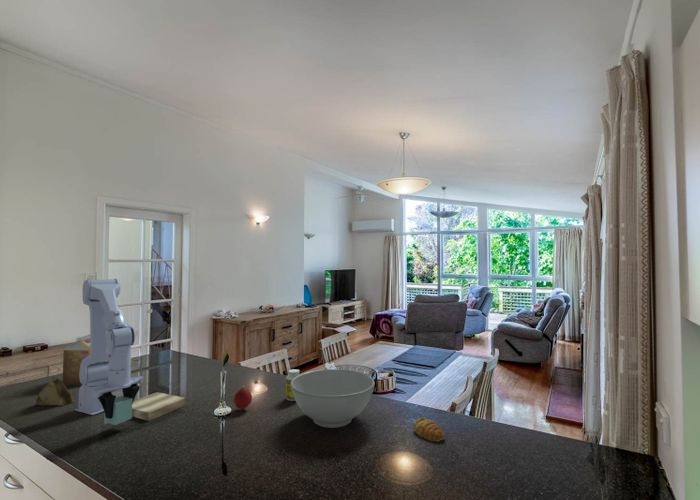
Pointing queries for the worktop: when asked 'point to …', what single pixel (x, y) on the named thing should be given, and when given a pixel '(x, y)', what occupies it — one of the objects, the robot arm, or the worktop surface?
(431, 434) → the pastry
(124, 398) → the teal block
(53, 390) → the rock
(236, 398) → the onion
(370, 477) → the worktop surface
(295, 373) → the supplement bottle
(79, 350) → the tan tall block
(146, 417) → the birch base board
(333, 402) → the decorative bowl
